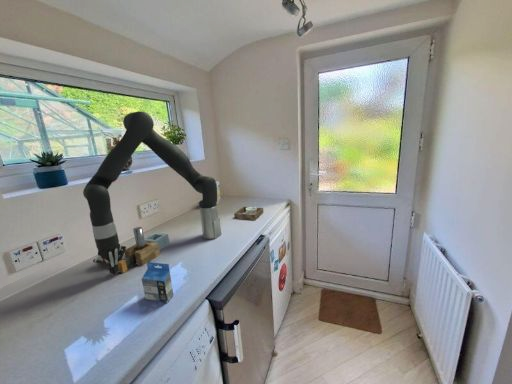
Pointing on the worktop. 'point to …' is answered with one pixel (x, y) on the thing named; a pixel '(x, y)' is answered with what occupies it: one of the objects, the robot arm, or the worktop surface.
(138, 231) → the peg
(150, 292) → the blue retail carton
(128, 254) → the socket block
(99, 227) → the robot arm
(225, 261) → the worktop surface
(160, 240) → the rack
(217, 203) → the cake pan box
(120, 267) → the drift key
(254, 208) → the teacup
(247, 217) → the cup corral
